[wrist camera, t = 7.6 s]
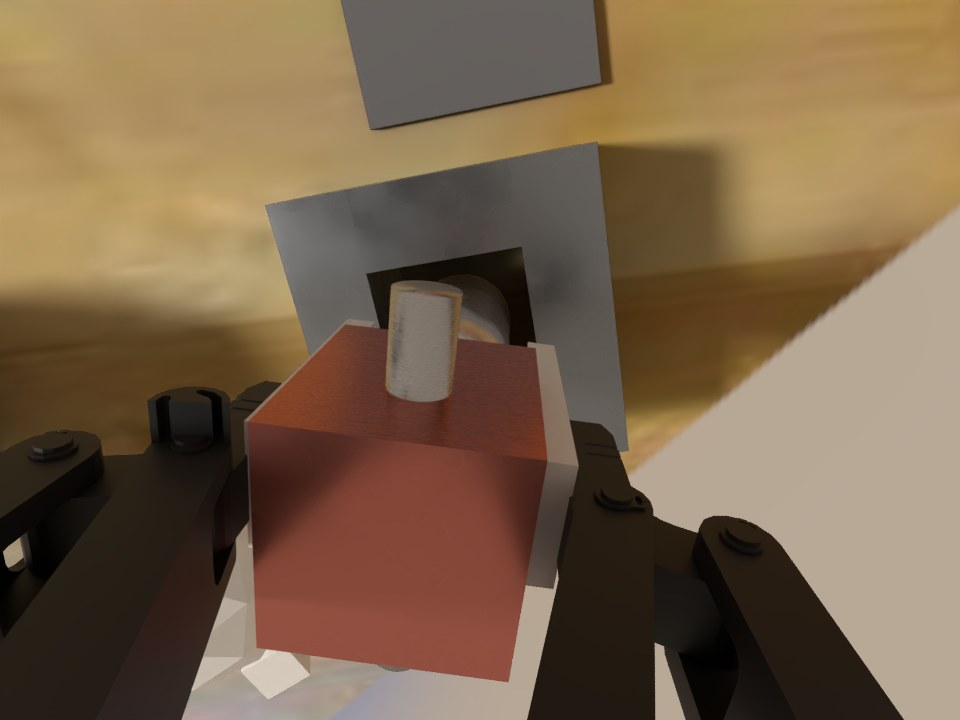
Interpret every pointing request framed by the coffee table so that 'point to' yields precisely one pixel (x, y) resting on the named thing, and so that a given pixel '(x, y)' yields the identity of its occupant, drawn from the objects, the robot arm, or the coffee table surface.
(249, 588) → the perfume bottle
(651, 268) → the coffee table surface
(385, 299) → the block
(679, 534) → the robot arm
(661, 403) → the coffee table surface
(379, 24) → the mat
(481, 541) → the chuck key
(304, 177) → the coffee table surface
